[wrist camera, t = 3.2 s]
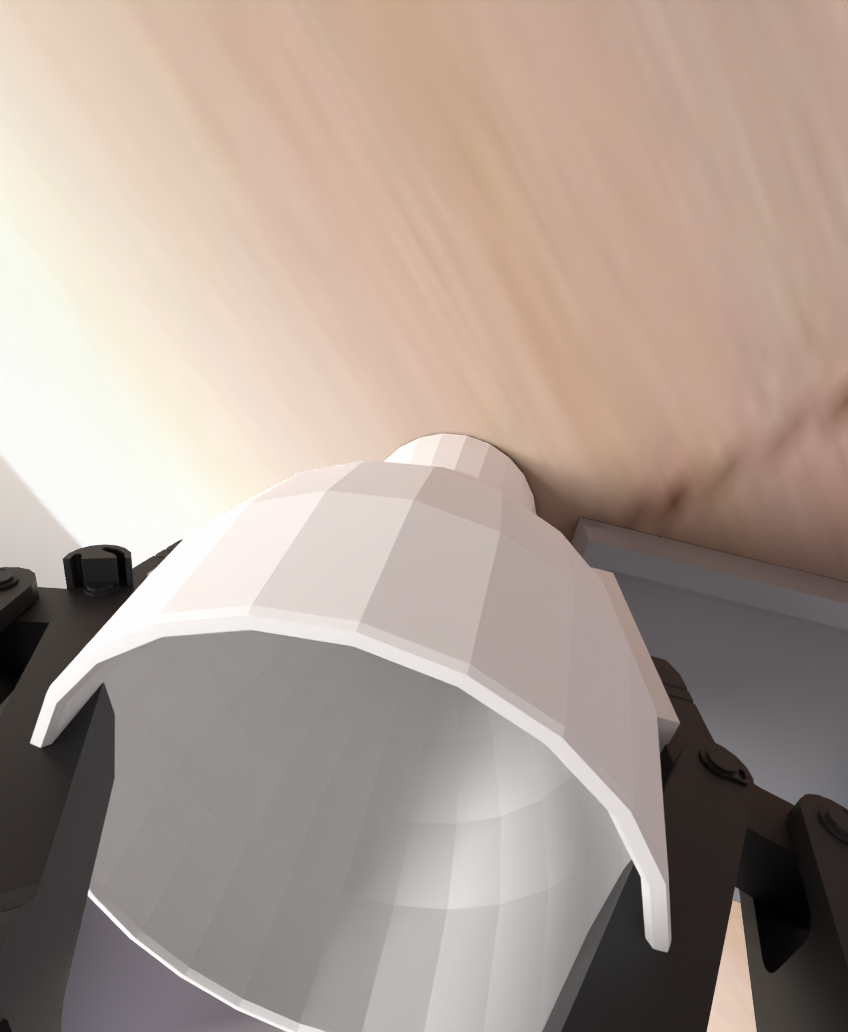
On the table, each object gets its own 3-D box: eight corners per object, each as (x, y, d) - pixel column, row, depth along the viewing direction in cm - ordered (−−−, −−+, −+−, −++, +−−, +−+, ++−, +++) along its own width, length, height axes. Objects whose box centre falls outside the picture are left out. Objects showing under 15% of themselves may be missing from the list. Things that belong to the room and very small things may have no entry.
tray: (580, 517, 19) (589, 540, 17) (1009, 621, 18) (1081, 661, 15) (484, 780, 26) (482, 821, 24) (789, 873, 24) (817, 927, 22)
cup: (625, 516, 19) (940, 994, 5) (457, 653, 23) (377, 1125, 9) (437, 341, 18) (176, 337, 4) (296, 519, 22) (-76, 826, 8)
